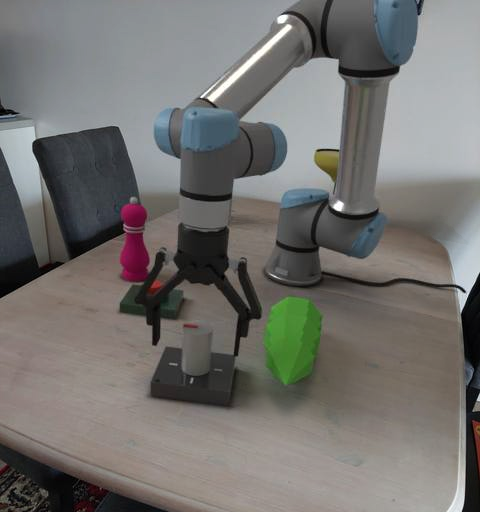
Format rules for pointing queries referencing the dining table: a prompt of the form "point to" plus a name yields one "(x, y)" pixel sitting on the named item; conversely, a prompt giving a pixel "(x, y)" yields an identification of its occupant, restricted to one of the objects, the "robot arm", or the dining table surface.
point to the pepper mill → (134, 242)
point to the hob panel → (193, 379)
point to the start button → (155, 287)
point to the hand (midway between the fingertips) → (196, 347)
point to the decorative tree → (292, 339)
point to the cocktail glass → (328, 162)
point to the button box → (168, 303)
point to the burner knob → (196, 347)
